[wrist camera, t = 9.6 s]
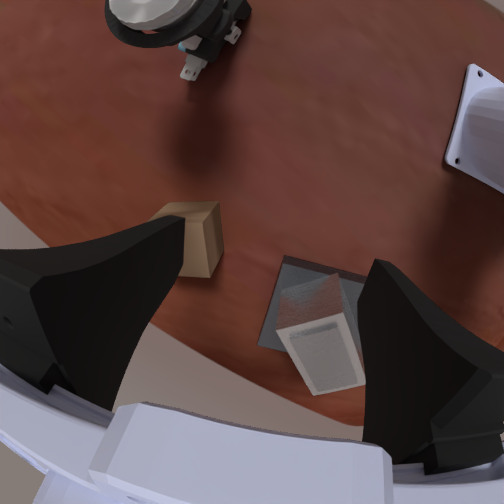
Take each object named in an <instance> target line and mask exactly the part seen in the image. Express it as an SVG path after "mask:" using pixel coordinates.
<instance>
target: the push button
mask: <svg viewBox="0 0 504 504" xmlns="http://www.w3.org/2000/svg"><path fill="white" fill-rule="evenodd" d="M251 10H252V9H251V7H250V5H249V4H248V2H247V0H106V1H105V18H106V22H107V25H108V27H109V29H110V31H111V32H112V33H113V35H114V36H115V37H116V38H118V39H119V40H120V41H122V42H124V43H126V44H129V45H132V46H136V47H142V48H158V47H164V46H173V45H175V44H177V43H179V42H180V44H179V46H178V49H179V50H181V51H183V52H186V53H188V56H187V58H186V60H185V62H187V63H186V65H185V66H184V68H183V70H182V72H181V74H180V77H181V78H184V79H186V80H188V81H189V80H192V81H195V80H196V78H197V76H198V75H199V73H200V71H201V69H202V68H205V66H206V64H207V62H210V63H214V62H215V61H216V59H217V57H218V55H219V52H220V51H221V49H222V47H223V46H224V44H225V42H226V41H229V42H230V43H232V44H234V43H235V42H236V41H237V39H238V37H239V36H240V34H241V30H240V29H239V28H238V27H236V24H237V23H238V21H239V20H240V19H243V20H245V19H246V18H247V17H248V16H249V14H250V12H251ZM141 30H152V31H155V32H158V33H155V34H145V33H143V32H142V31H141ZM236 35H237V36H236ZM235 36H236V38H235ZM234 38H235V39H234ZM187 69H189V70H188V72H187V73H186V74H185V71H186V70H187ZM190 72H191V73H190ZM194 72H196V74H195V75H194V76H193V74H194Z"/></svg>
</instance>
